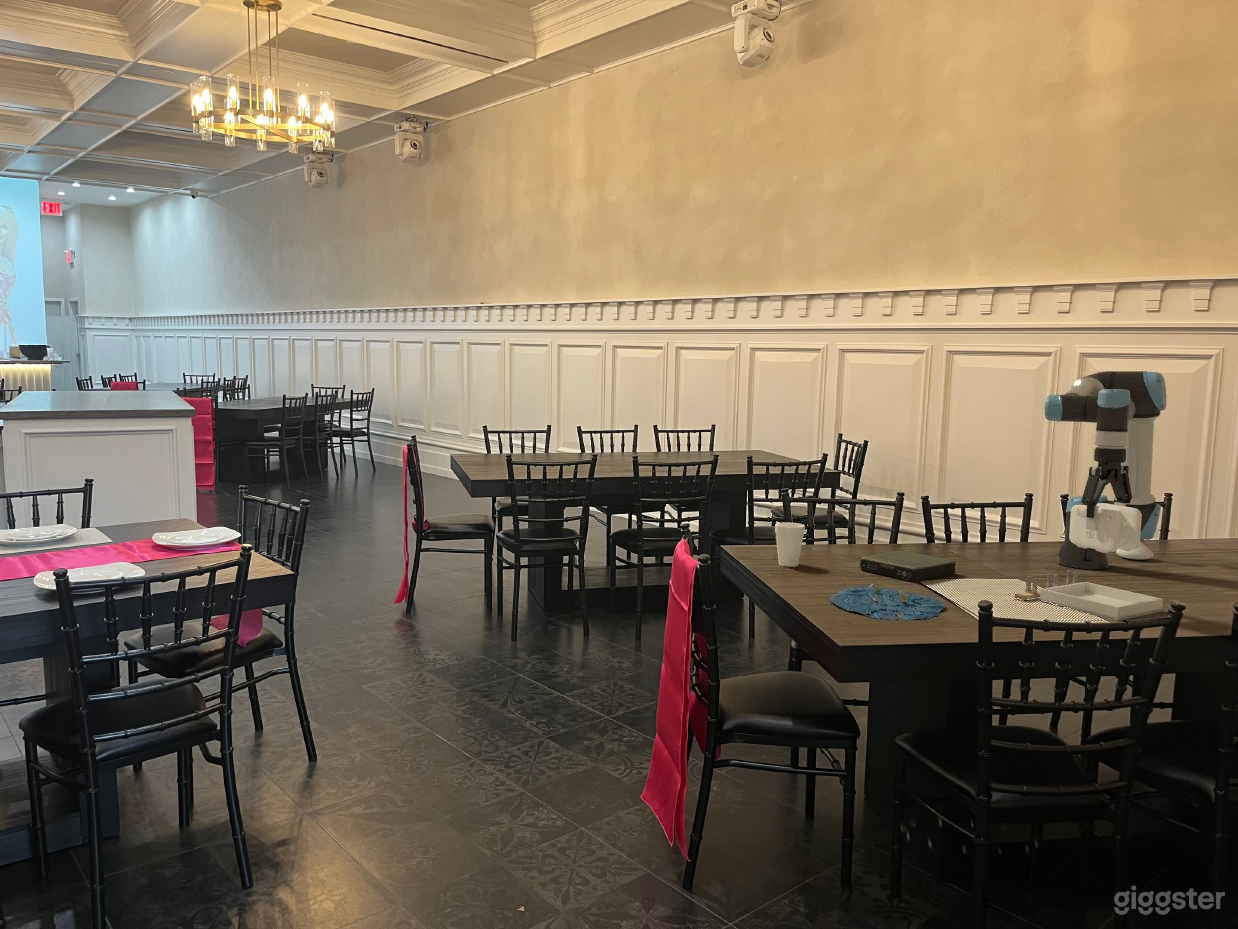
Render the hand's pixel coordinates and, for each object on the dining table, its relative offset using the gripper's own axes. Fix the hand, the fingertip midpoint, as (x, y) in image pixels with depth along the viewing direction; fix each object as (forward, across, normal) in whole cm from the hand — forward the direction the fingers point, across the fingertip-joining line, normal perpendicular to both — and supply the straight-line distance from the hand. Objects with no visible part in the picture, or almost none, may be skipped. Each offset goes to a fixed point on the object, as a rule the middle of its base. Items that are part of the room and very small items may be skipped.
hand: (1105, 528), depth 244 cm
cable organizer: (+6, 0, 0) cm, 6 cm away
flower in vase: (+22, -75, -35) cm, 86 cm away
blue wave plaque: (+22, +51, -27) cm, 62 cm away
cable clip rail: (+21, 0, -14) cm, 26 cm away
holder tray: (+21, 0, 0) cm, 21 cm away
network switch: (+22, +15, -54) cm, 60 cm away
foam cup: (+22, +41, -80) cm, 92 cm away
